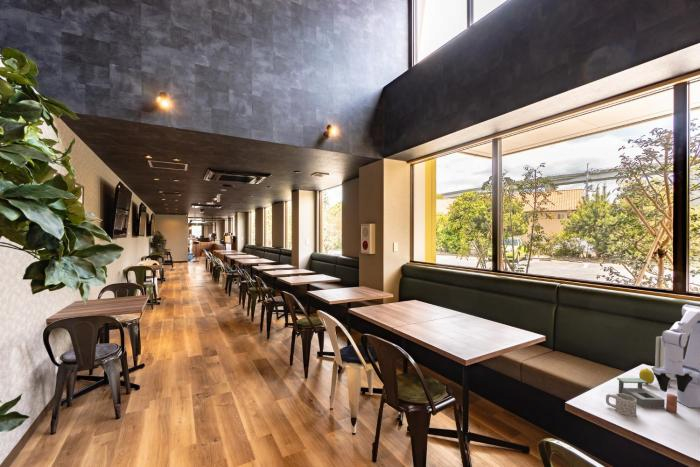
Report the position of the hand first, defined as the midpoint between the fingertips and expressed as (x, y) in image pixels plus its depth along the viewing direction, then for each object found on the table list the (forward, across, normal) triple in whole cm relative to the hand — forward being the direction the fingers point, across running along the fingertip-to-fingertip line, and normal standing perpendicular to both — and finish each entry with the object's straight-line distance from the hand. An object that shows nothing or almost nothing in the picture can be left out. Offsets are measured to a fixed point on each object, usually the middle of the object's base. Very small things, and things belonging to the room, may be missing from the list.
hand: (672, 390), depth 136 cm
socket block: (+9, -5, +9) cm, 14 cm away
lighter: (+9, +20, +25) cm, 33 cm away
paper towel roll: (+9, +30, +32) cm, 45 cm away
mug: (+9, -22, 0) cm, 24 cm away
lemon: (+9, +12, +24) cm, 28 cm away
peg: (+9, 0, 0) cm, 9 cm away
